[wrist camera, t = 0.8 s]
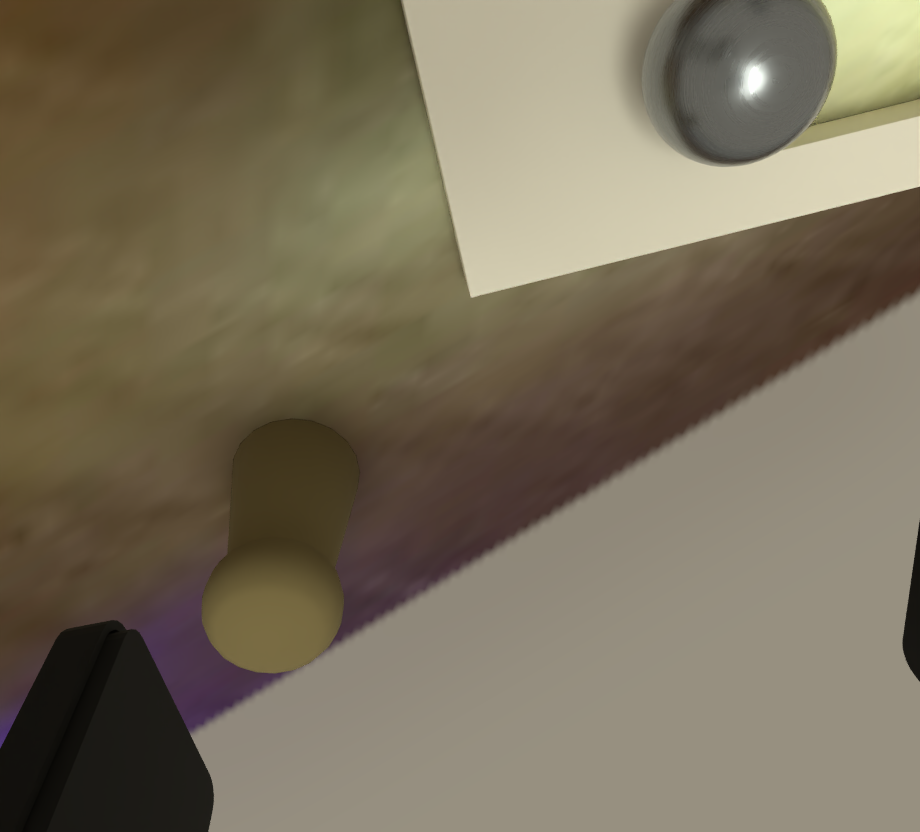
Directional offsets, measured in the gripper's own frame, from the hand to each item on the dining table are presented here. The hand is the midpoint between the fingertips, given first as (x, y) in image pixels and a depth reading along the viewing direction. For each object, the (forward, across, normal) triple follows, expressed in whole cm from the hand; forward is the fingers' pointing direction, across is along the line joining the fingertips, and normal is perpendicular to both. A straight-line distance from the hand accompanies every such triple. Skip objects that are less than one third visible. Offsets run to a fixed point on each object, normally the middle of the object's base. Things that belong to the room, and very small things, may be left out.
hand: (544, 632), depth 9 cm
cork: (+26, +9, +12) cm, 30 cm away
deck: (+25, -12, -3) cm, 28 cm away
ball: (+20, -10, -3) cm, 23 cm away
